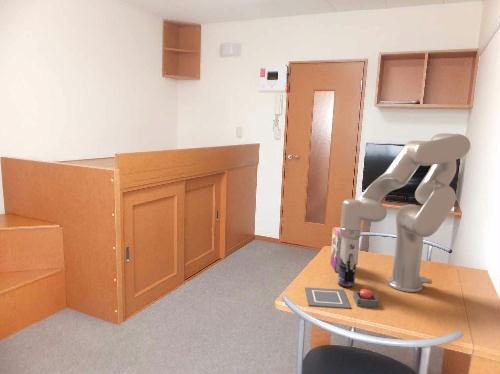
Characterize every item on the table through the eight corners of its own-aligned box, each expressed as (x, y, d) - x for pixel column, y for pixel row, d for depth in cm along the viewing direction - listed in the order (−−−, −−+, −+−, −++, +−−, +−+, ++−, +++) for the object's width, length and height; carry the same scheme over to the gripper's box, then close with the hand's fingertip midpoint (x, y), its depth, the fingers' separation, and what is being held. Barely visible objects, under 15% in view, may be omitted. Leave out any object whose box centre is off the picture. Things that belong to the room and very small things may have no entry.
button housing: (372, 298, 134) (373, 292, 134) (378, 307, 127) (379, 301, 127) (352, 297, 135) (353, 291, 134) (357, 306, 128) (357, 299, 127)
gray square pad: (343, 290, 140) (343, 289, 140) (350, 308, 126) (351, 307, 126) (304, 288, 140) (305, 287, 140) (308, 305, 127) (308, 304, 126)
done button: (370, 294, 132) (370, 289, 132) (373, 299, 129) (373, 294, 128) (358, 293, 133) (359, 288, 132) (361, 299, 129) (361, 293, 128)
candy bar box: (329, 262, 168) (332, 226, 166) (340, 263, 168) (343, 227, 166) (334, 272, 157) (337, 234, 155) (346, 273, 157) (350, 234, 155)
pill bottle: (350, 289, 141) (352, 261, 139) (334, 285, 144) (337, 257, 143) (356, 284, 146) (359, 257, 144) (341, 280, 149) (343, 253, 147)
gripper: (366, 240, 133) (361, 286, 136) (355, 227, 150) (351, 268, 153) (344, 238, 133) (340, 285, 136) (336, 226, 150) (332, 267, 153)
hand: (346, 276), depth 144 cm, fingers open, 9 cm apart
